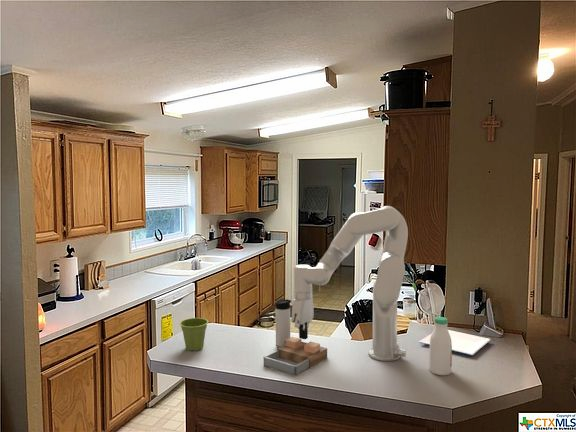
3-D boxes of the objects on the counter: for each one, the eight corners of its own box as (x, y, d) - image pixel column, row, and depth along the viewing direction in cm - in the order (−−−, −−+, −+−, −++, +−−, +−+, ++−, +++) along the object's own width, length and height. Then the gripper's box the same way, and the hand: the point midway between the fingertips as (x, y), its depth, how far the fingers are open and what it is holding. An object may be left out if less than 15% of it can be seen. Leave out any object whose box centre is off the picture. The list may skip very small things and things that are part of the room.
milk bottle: (448, 377, 158) (449, 322, 156) (426, 373, 162) (427, 319, 161) (453, 369, 165) (454, 317, 163) (432, 365, 169) (433, 313, 167)
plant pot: (174, 351, 185) (173, 324, 184) (190, 341, 196) (189, 316, 195) (199, 355, 181) (198, 328, 180) (214, 344, 192) (213, 319, 191)
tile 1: (301, 345, 180) (301, 339, 180) (294, 348, 176) (294, 342, 176) (292, 342, 182) (292, 336, 182) (285, 346, 179) (285, 339, 179)
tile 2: (320, 350, 174) (320, 343, 174) (313, 353, 171) (313, 347, 171) (310, 347, 177) (310, 341, 177) (304, 351, 173) (304, 344, 173)
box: (309, 368, 167) (309, 359, 167) (295, 376, 160) (295, 366, 160) (277, 358, 176) (277, 350, 176) (263, 365, 170) (263, 356, 169)
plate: (490, 343, 191) (491, 338, 191) (472, 359, 175) (472, 354, 174) (440, 332, 206) (440, 327, 206) (418, 345, 189) (418, 341, 189)
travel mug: (289, 349, 186) (289, 302, 184) (274, 348, 187) (273, 301, 186) (292, 343, 192) (292, 298, 191) (277, 342, 193) (277, 297, 192)
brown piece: (327, 358, 176) (327, 348, 176) (310, 368, 167) (310, 358, 167) (294, 349, 186) (294, 339, 186) (276, 358, 177) (276, 348, 176)
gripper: (306, 290, 191) (306, 331, 193) (284, 297, 180) (285, 341, 181) (320, 292, 187) (320, 335, 188) (299, 300, 175) (300, 345, 176)
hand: (303, 338), depth 185 cm, fingers closed
